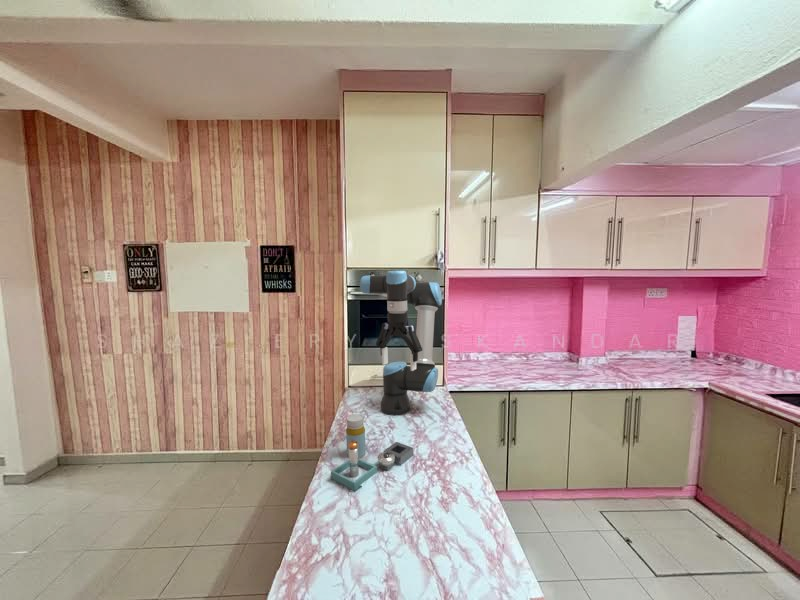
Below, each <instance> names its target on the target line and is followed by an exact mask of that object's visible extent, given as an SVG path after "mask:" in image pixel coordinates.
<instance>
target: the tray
mask: <svg viewBox="0 0 800 600" xmlns="http://www.w3.org/2000/svg"><path fill="white" fill-rule="evenodd" d="M358 467H361V468H363V469H364V470H367V471H366V472H365V473H363V474H362V475H360V476H359V477H358V478H356V479H355V480H353V479H351V478H349V477H347V476H345V475H343V474H341V473H343V472H344V471H346V470H347V469H348V468H350V467H349V459H348V460H346V461H345V462H343V463H342V464H340V465H339V466H336V467H335V468H334V469H332V470H331V471H330V479H331V481H333V482H334V483H336V484H339V485H340V486H343V487H344V488H346V489H348V490H350V491H351V492H354V493H356V492H357V491H358V490H360V489H361V488H362V487H363V486H362V484H364V483H365V482H366V481H368V480H369V479H371V477H373V476H375V475H376V474H377V473H378V466H377V465H374V464H372V463H370V462H368V461H366V460H363V459H361V458H358Z"/></svg>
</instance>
